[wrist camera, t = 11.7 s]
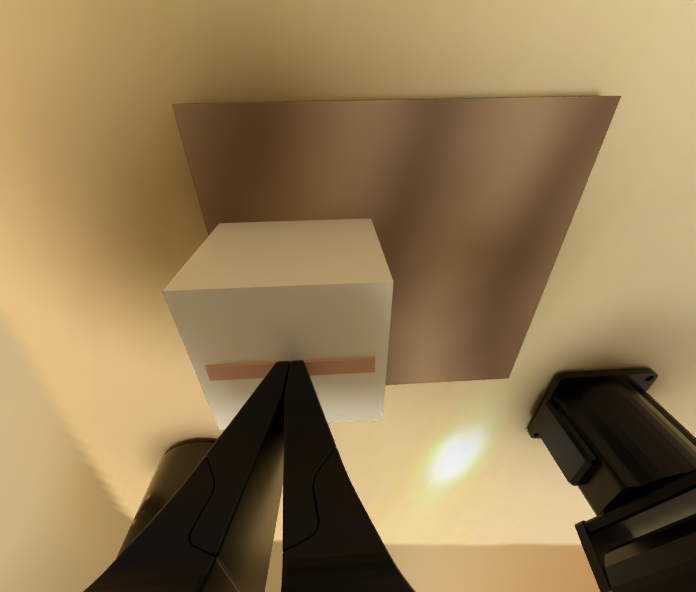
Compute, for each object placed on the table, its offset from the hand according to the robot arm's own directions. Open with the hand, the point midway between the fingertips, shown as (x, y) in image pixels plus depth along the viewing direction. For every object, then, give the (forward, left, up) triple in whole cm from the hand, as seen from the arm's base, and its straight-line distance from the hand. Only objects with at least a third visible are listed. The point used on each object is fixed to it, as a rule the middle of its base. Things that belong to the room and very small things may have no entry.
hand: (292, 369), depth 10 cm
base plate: (-4, 0, -6) cm, 7 cm away
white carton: (0, 0, -5) cm, 5 cm away
